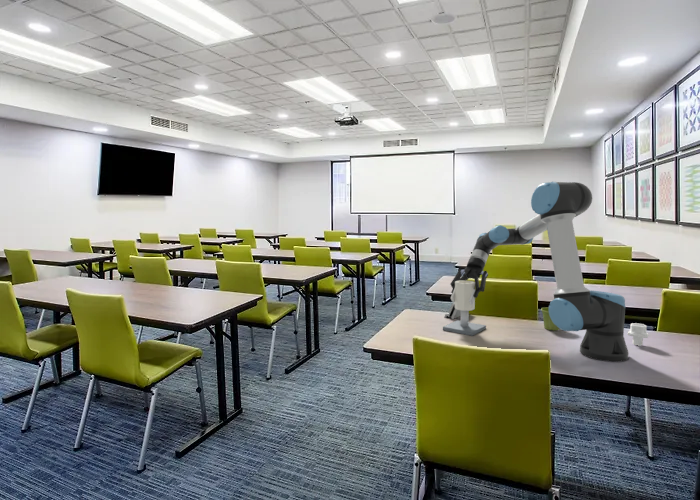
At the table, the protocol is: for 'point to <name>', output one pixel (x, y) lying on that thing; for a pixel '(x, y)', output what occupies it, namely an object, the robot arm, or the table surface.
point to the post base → (465, 329)
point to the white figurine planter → (638, 333)
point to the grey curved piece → (453, 312)
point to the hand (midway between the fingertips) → (461, 301)
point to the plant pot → (548, 320)
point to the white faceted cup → (464, 295)
